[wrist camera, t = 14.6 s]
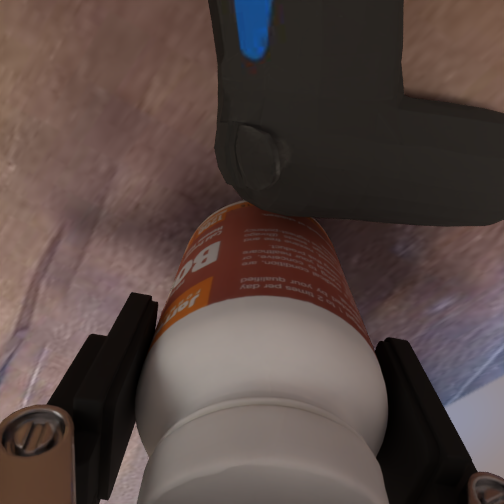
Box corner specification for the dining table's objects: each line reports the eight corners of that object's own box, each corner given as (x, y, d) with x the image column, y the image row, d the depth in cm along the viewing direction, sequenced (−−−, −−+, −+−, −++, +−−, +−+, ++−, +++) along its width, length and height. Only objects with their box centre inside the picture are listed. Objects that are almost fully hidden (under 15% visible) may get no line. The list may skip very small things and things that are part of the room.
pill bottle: (203, 175, 16) (106, 382, 6) (356, 216, 16) (516, 468, 6) (172, 309, 18) (68, 619, 8) (306, 341, 19) (363, 664, 9)
